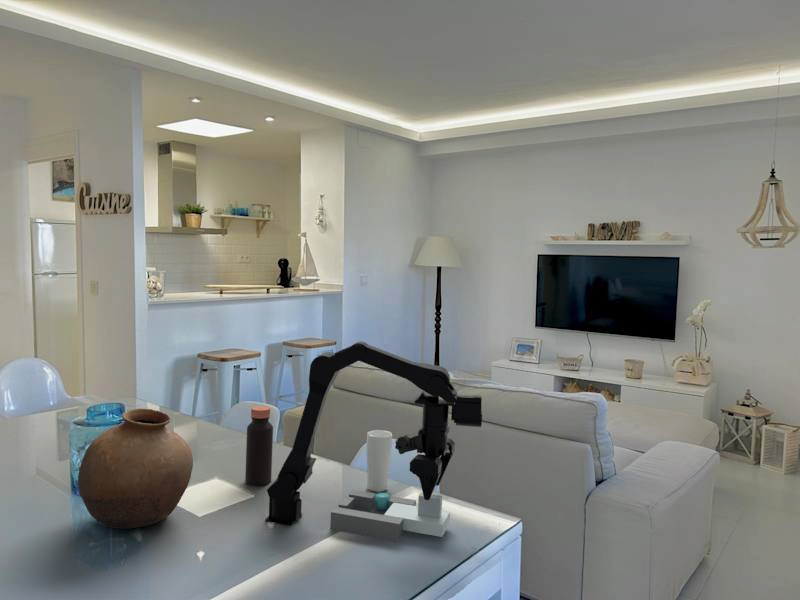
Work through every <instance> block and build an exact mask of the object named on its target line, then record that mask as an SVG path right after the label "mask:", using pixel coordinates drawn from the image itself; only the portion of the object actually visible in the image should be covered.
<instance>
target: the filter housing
mask: <svg viewBox="0 0 800 600" xmlns="http://www.w3.org/2000/svg"><path fill="white" fill-rule="evenodd" d="M376 494H377V493H376V492H367V491H361V490H354V489H353V490H351V491H350V492H349V494H348V496H345V498H344V499H342V500H341V501H340V502H339V503H338V506H335V507H334V508H333V509H332V510H331V511H330V525H329V527H330V528H329V529H331V531H336V530H337V532H342V533H347V534H353V535H359V536H364V537H369V538H374V539H381V540H386V541H389V542H395V543H399V542H400V541H401V539H402V538H403V536H404V534H405V533H406V532H407V531H405V530H403V518H397V517H392V516H386V515H384V514H385V513H386V511H387V510H388V509H389V508H390V506H391V505H392V504H393V503H400V504H406V505H412V506H417V500H416V499H410V498H405V497H399V496H398V497H397V496H392V497H390V500H389V508H388V509H387V510H379V509H376V508H375V501H376Z"/></svg>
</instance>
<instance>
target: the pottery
mask: <svg viewBox="0 0 800 600" xmlns="http://www.w3.org/2000/svg"><path fill="white" fill-rule="evenodd" d="M121 418H122V420H123V422H122V423H120V424H117V425H115V426H113V427H110V428H108V429H106V430H105V431H104V432H102V433H100V434H99V435H98V436H97V437H95V438H94V439H93V440H92V442H91V443H90V444H89V446H88V447H87V448H86V450H85V451H84V455H83V457H82V460H81V463H80V467H79V471H78V475H77V485H78V491H79V494H80V497H81V499H82V503H83V504H84V505H85V508H86V510H87V512H88V513H89V514H90V516H91V518H92V519H94V520H95V521H96V522H98V523H100V524H101V525H103V526H105V527H108V528H112V529H123V530H124V529H127V530H129V529H137V528H143V527H148V526H151V525H154V524H156V523H158V522H161V521H162V520H164V519H167V518H168V516H170V515H171V514H172V512H174V510H175V509H176V508H177V505H178V504H179V503H180V501H181V499H182V497H183V496H184V494H185V491H186V490H187V489H188V485H189V483H190V480H191V476H192V473H193V472H192V471H193V467H194V456H193V452H192V449H191V448H190V446H189V444H188V443H187V441H185V439H184V438H183V437H182V436H181V435H179V433H177V432H175V431H174V430H172V429H171V428H169V427H167V426H166V425H168V424H170V422H171V417H170V415H168V413H165V412H163V411H160V410H155V409H150V408H135V409H130V410H127V411H124V412H123V413H122V414H121Z"/></svg>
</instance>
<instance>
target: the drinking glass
mask: <svg viewBox="0 0 800 600" xmlns="http://www.w3.org/2000/svg"><path fill="white" fill-rule="evenodd" d="M365 449H366V469H367V470H366V471H367V472H366V473H367V485H366V486H367V489H368V490H369V491H371V492H374V493H376V492H377V493H382V492H384V491H386V490H387V488H388V480H389V475H390V474H389V472H390V466H391V460H392V459H391V457H392V450H393V433H392V432H391V431H388V430H385V429H384V430H383V429H374V430H370V431H367V435H366V448H365Z"/></svg>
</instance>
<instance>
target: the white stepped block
mask: <svg viewBox="0 0 800 600" xmlns="http://www.w3.org/2000/svg"><path fill="white" fill-rule="evenodd" d="M442 508H443V495H440V494H433V493H432V495H431V497H430V500H425V499H424V496H423V492H420V493H419V494H418V501H417V505H416V506H412V505H406V504H400V503H393V504H392V505H391V506H390V508H389V509H388V510H387V511H386V513H385V514H384V515H386V516H392V517H397V518H403V530H405V531H406V532H411V533H416V534H417V533H419V534H422V535H427V536H428V535H430V536H435V537H441V538H443V536H444V534H445V533H446V530H447V529H448V527H449V524H450V516H451V511H448V510H443V509H442Z"/></svg>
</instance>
